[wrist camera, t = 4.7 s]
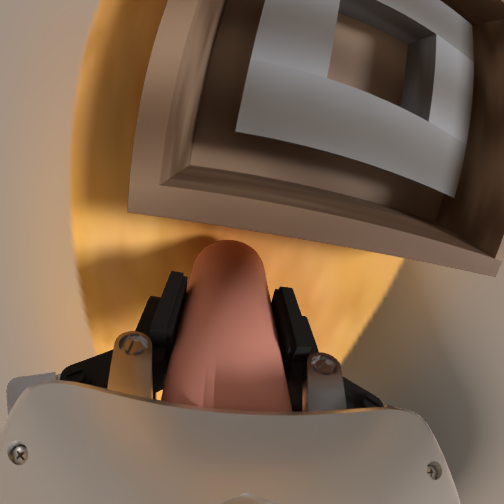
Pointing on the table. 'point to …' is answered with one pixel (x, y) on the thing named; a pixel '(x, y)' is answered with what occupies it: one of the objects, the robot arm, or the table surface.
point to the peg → (227, 336)
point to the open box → (330, 124)
